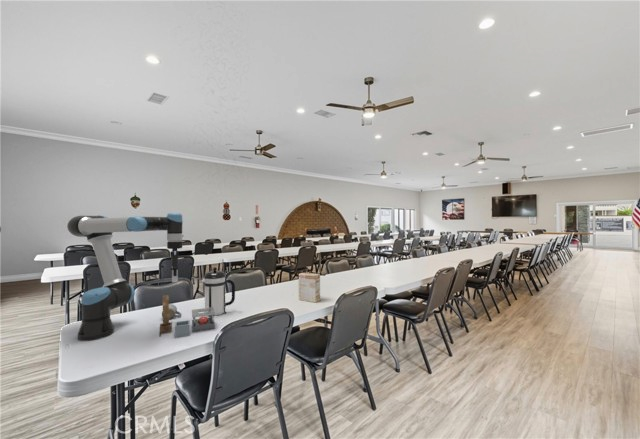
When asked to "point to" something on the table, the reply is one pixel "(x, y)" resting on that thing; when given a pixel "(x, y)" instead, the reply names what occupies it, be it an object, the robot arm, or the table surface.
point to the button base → (203, 326)
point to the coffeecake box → (309, 287)
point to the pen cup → (182, 328)
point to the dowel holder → (165, 328)
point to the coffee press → (216, 291)
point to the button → (202, 319)
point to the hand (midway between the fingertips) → (174, 279)
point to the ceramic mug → (173, 312)
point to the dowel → (165, 310)
